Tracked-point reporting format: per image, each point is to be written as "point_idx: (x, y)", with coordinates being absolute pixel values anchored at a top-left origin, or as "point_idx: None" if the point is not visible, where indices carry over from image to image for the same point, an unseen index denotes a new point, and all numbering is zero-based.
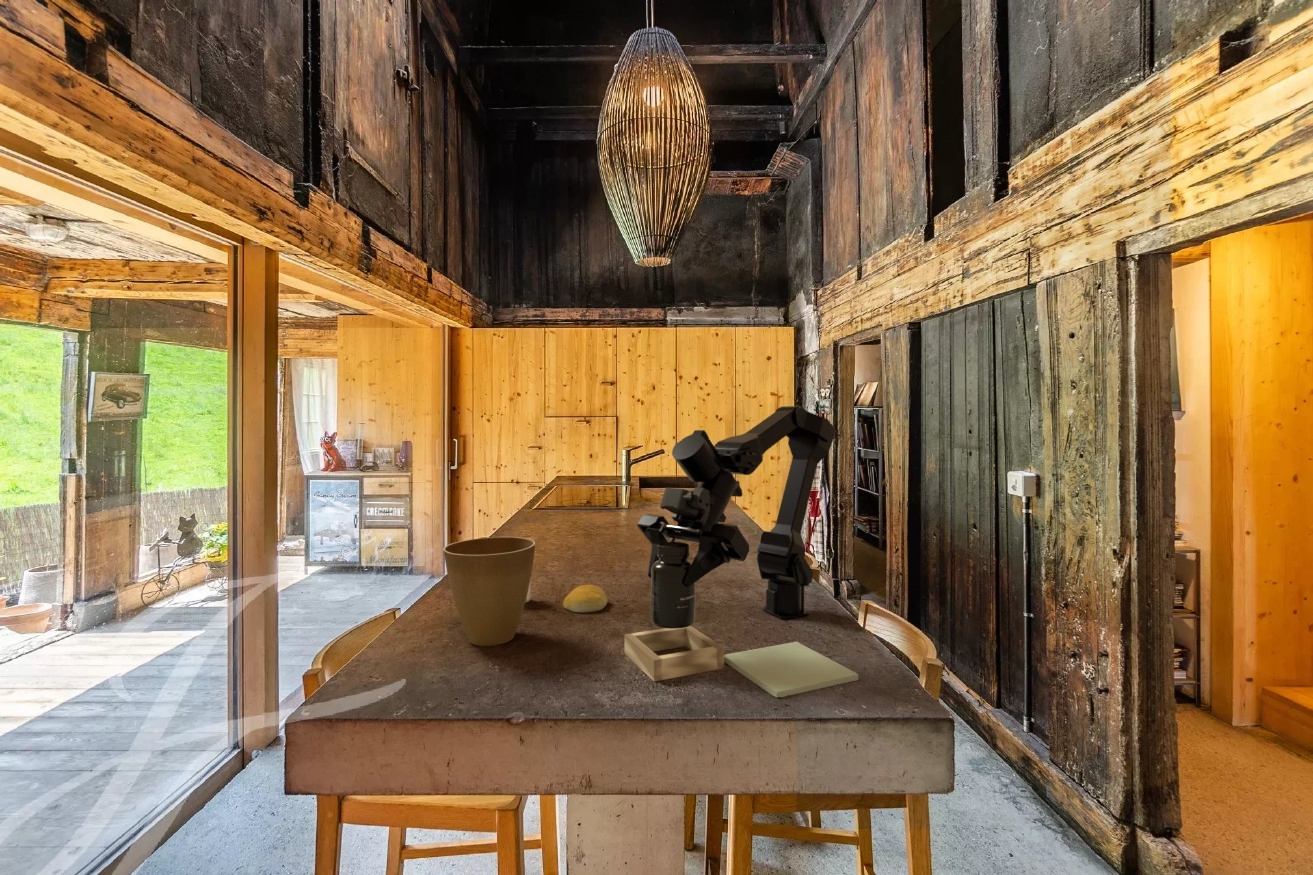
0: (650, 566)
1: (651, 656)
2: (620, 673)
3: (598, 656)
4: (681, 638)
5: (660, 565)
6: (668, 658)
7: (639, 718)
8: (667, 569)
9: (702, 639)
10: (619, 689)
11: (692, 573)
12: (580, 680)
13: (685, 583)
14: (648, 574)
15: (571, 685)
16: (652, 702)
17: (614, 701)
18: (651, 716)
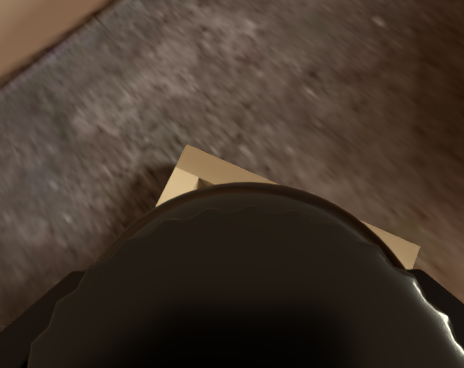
0: (453, 307)
1: (212, 162)
2: (296, 141)
3: (434, 182)
4: None
5: (259, 206)
6: (165, 188)
7: (102, 12)
8: (178, 205)
9: None
10: (230, 75)
11: (12, 324)
12: (340, 48)
13: (77, 272)
14: (416, 270)
15: (333, 18)
16: (125, 79)
17: (196, 29)
18: (88, 33)
